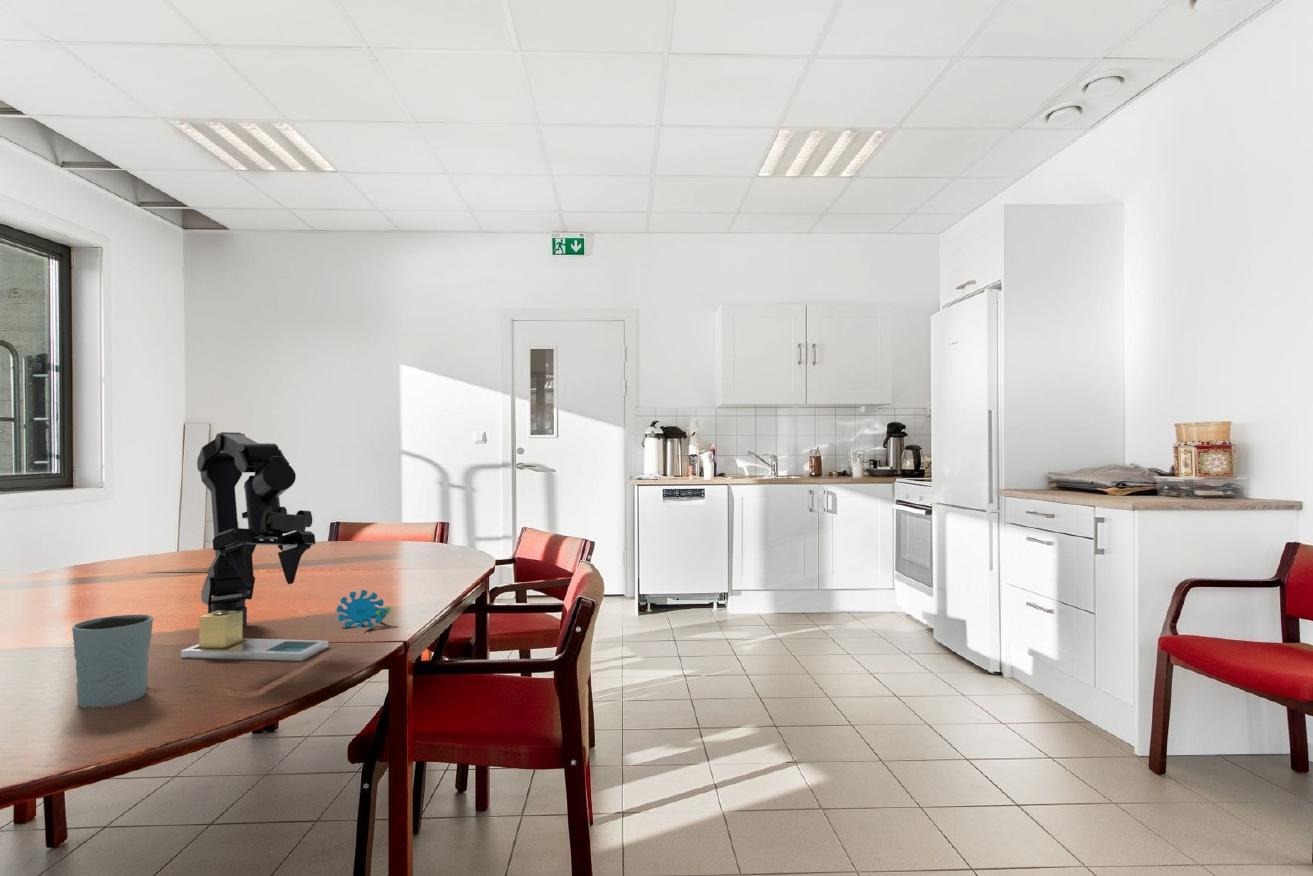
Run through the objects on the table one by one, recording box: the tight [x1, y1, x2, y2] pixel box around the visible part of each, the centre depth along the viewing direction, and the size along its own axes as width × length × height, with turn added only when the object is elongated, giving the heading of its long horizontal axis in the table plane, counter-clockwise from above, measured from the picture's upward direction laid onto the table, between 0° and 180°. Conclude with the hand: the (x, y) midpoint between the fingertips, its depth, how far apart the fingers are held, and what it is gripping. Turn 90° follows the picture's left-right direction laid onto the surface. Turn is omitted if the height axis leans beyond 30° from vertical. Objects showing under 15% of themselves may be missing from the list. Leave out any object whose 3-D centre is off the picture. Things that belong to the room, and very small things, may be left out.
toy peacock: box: [335, 589, 392, 629], centre depth 157 cm, size 11×6×10 cm
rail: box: [180, 637, 329, 662], centre depth 134 cm, size 23×9×2 cm, turn 86°
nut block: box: [198, 611, 244, 650], centre depth 134 cm, size 5×5×7 cm
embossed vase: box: [71, 614, 154, 708], centre depth 111 cm, size 10×10×12 cm
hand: (271, 584), depth 134 cm, fingers open, 9 cm apart
